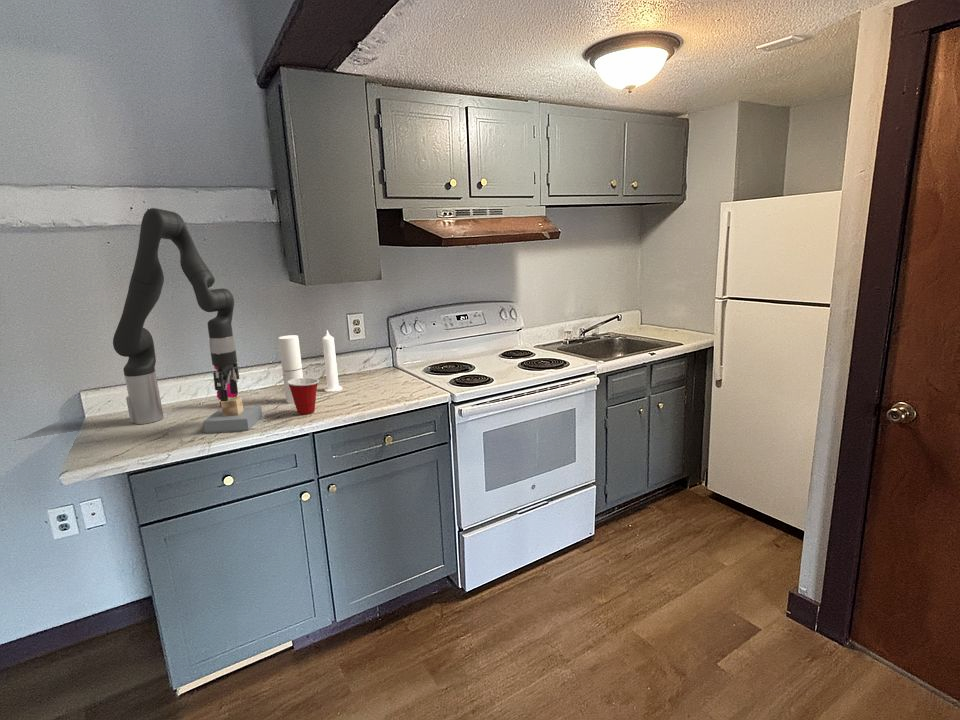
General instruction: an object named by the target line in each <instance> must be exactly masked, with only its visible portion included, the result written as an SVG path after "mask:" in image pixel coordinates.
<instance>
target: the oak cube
mask: <svg viewBox="0 0 960 720" xmlns="http://www.w3.org/2000/svg"><path fill="white" fill-rule="evenodd" d="M220 401H221V400H220ZM243 405H244V404H243V399H242V396H237V397H228V401H223V402H222V401H221V407H220V408H222V413H223V416H234V415H239V414H240V413H241V412H242V411H244V410H243V407H244V406H243Z"/></svg>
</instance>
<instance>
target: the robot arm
mask: <svg viewBox="0 0 960 720" xmlns="http://www.w3.org/2000/svg"><path fill="white" fill-rule="evenodd" d="M139 231H140V232H139V240H138V247H137V253H136V256H135V262H134V266H133V269H132V274H131V276H130V280H129V285H128V289H127V290H128V291H127V294H126V298H125V302H124V304H123V305H124V306H123V310H122V313H121V316H120V319H119V322H118V325H117V328H116V330H115V331H114V334H113V338H112V345H113V349H114V352H116V353H117V354H118V355H119V356H120V357H126V358H128V359H127V363H126V364H125V365H124V367H123V375H124V379H125V384H126V390H127V396H126V397H125V400H126V404H127V406H126V407H127V411H128V414H129V420H130V424H136V425H145V424H151V423H155V422H158V421H160V420H162V419H164V418H165V416H164V410H163V406H162V399H161V395H160V389H159V384H158V379H157V374H156V373H157V372H156V367H155V366H156V363H157V357H156V350H155V344H154V343H155V342H154V339H153V336H152V334H151V332H150V331H149V330H148V329H147V328H145V327H144V324H145V322H146V319H147V317H148V316H149V315H150V314H151V311H152V310H153V309H154V307H155V305H156V304H157V303H158V301H159V299H160V297H161V293H162V289H163V286H164V283H165V274H164V272H163V269H162V266H161V263H160V260H159V247H160V243H161V240H162V239H163V240H170V241H171V242H172V243H173V244H174V245H175V246H176V247H177V249H178V251H179V255H180V256H179V258H180V261H179V263H180V268H181V270H182V272H183V274H184V275H185V277H186V278H187V280H188V281H189V283H190V284H191V286H192V289H193V292H194V295H195V298H196V301H197V305H198V306H199V308H200V309H201V310H203V312H206V313H213V312H214V313H215V312H216V313H217V314H216V316H215V317H214V318H211V319H209V320H208V322H207V330H208V331H207V332H208V337H209V343H208V344H209V352H210V357H211V365H212V366H213V367H214V366H217V367H218V372H217V371H213V373H212V375H213V383H214V390H215V391H217V390H218V391H219V393H220V399H219V400H220V401H222V402H223V401H228V394H227V384H229V383H230V391H231V394H237V393H238V394H239V389H238V382H239V381H238V380H240V373H239V372H240V371H239V367H238V357H237V351H236V343H235V339H234V335H233V327H232V321H233V314H234V309H235V307H234V306H235V299H234V298H235V297H234V295H233V293H232V292H231V291H230V290H229V289H228V288H215V289H210V288H211V287H212V286H213V285H214V284H215V280H216V279H215V277H214V274H212V271H211V270H210V269H209V267H208V266H207V264H206V263H205V261H204V259H202V257H201V255H200V253H199V251H198V249H197V247H196V245H195V242H194V240H193V238H192V236H191V234H190V231H189V229H188V226H187V224H186V223H185V221H184V219H183V218H182V217H181V215H180V214H179V213H177V212H174V211H171V210H166V209H160V208H156V207H151V208H149V209H147V210H146V211H145V212H144V213H143V216H142V220H141V224H140V230H139Z"/></svg>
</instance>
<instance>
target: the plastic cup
mask: <svg viewBox="0 0 960 720" xmlns="http://www.w3.org/2000/svg"><path fill="white" fill-rule="evenodd" d="M287 383H288V384H289V387H290V390H291V393H292V396H293V400H294V403H293V404H294V406H295V408H296V411H297V414H298V415H303V416H304V415H305V416H307V415H311V414H314V413H315V411H316V401H317V399H316V398H317V388H318V384H319V383H320V380H319V379H317V378H313V377H303V378H297V379H292V380H289V381H287Z"/></svg>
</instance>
